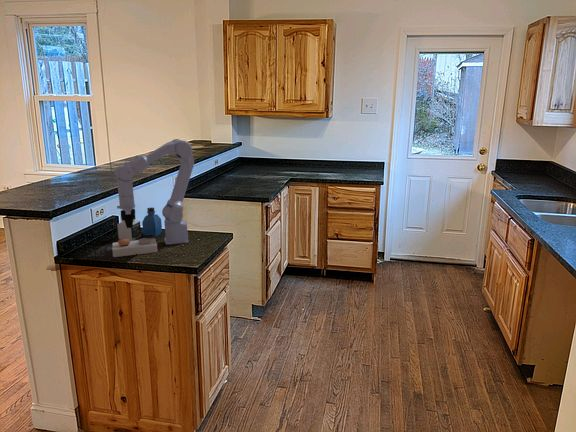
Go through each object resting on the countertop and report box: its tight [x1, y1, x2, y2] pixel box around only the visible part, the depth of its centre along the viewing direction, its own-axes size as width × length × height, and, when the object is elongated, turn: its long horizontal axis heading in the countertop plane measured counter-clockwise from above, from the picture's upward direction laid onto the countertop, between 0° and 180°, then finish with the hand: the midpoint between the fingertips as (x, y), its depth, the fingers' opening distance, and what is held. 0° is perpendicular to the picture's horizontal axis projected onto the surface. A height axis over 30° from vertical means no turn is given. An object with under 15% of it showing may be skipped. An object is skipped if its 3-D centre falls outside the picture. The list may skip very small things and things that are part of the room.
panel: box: [111, 237, 158, 258], centre depth 188 cm, size 17×10×3 cm, turn 110°
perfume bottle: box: [141, 207, 163, 237], centre depth 210 cm, size 6×6×12 cm
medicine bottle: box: [116, 213, 142, 241], centre depth 204 cm, size 7×7×12 cm
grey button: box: [138, 237, 151, 244], centre depth 189 cm, size 4×4×4 cm
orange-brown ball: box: [117, 239, 131, 247], centre depth 186 cm, size 4×4×4 cm
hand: (129, 227), depth 188 cm, fingers closed
